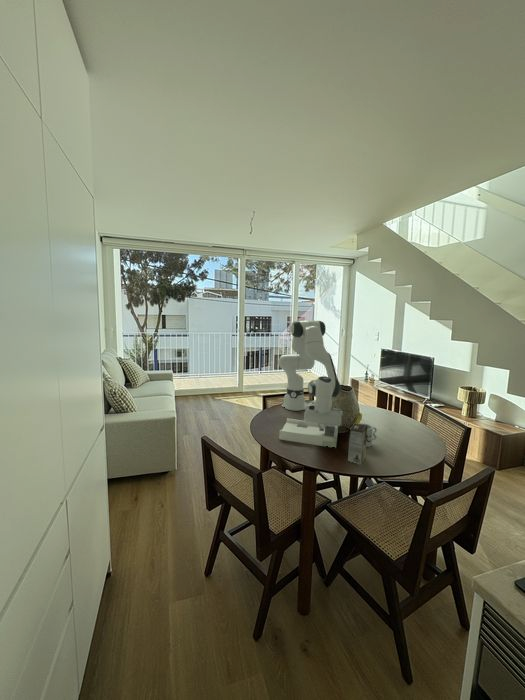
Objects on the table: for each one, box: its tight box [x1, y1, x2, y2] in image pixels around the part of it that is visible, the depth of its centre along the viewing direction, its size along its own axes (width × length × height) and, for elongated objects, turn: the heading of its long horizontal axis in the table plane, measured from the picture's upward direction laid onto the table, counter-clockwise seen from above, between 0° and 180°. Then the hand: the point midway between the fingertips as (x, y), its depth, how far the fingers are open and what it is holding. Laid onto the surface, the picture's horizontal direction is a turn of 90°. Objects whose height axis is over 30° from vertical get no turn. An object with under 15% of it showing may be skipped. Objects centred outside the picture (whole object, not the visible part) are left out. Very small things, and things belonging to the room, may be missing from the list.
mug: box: [359, 422, 378, 448], centre depth 162 cm, size 12×9×10 cm
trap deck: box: [278, 417, 339, 449], centre depth 170 cm, size 20×30×7 cm, turn 74°
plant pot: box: [351, 411, 363, 428], centre depth 183 cm, size 10×10×10 cm
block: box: [325, 425, 335, 437], centre depth 166 cm, size 5×5×4 cm
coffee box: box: [347, 424, 368, 465], centre depth 144 cm, size 9×6×16 cm
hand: (321, 430), depth 168 cm, fingers closed
